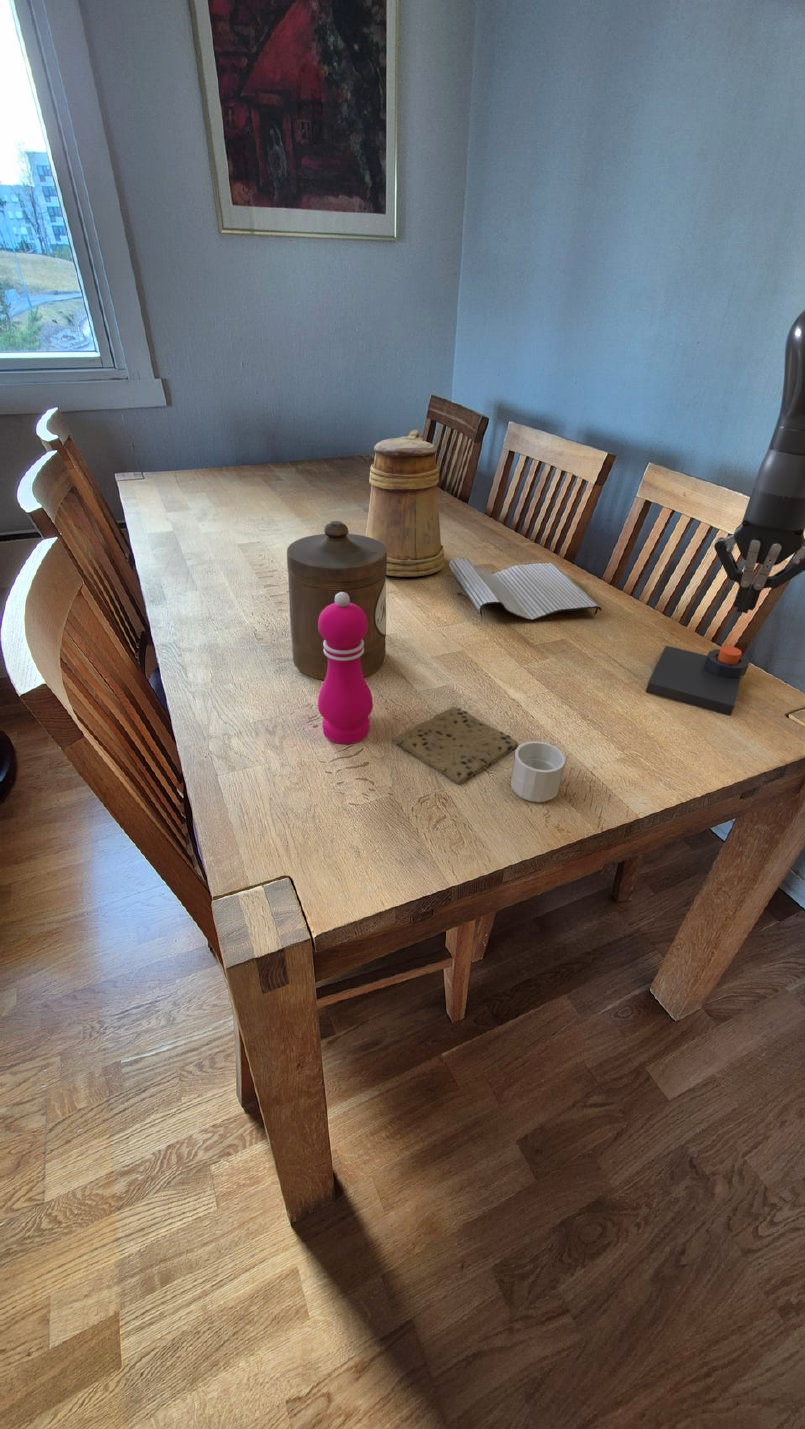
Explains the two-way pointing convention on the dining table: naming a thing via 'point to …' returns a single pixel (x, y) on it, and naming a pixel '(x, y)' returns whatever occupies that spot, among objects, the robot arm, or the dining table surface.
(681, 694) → the scale
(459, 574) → the mat
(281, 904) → the dining table surface
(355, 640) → the pepper mill
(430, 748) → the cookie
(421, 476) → the tankard
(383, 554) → the wooden container
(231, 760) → the dining table surface
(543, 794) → the white cup
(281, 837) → the dining table surface
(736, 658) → the button
